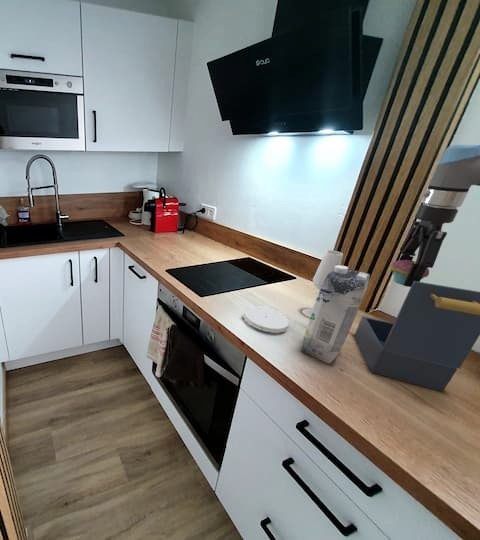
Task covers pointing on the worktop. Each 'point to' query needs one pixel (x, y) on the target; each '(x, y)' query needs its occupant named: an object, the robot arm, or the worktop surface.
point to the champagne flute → (324, 272)
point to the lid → (436, 324)
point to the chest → (398, 358)
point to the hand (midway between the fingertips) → (404, 280)
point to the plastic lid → (266, 319)
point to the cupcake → (403, 270)
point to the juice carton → (334, 312)
